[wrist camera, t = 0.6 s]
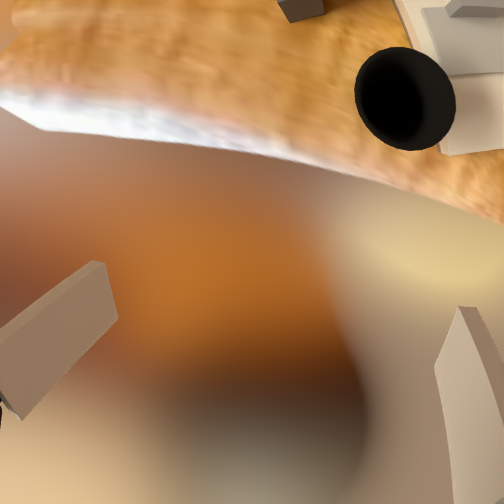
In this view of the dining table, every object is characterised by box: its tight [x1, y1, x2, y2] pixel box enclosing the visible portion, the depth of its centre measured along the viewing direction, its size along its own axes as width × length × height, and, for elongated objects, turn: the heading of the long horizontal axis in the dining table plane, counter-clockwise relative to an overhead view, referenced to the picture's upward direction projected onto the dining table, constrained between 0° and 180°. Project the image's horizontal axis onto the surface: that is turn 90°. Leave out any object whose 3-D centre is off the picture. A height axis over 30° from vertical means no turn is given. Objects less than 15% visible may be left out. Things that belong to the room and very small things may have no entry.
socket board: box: [393, 0, 504, 156], centre depth 22 cm, size 19×14×4 cm
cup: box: [354, 47, 456, 151], centre depth 23 cm, size 8×8×12 cm
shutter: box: [420, 0, 504, 76], centre depth 17 cm, size 7×11×5 cm, turn 107°
